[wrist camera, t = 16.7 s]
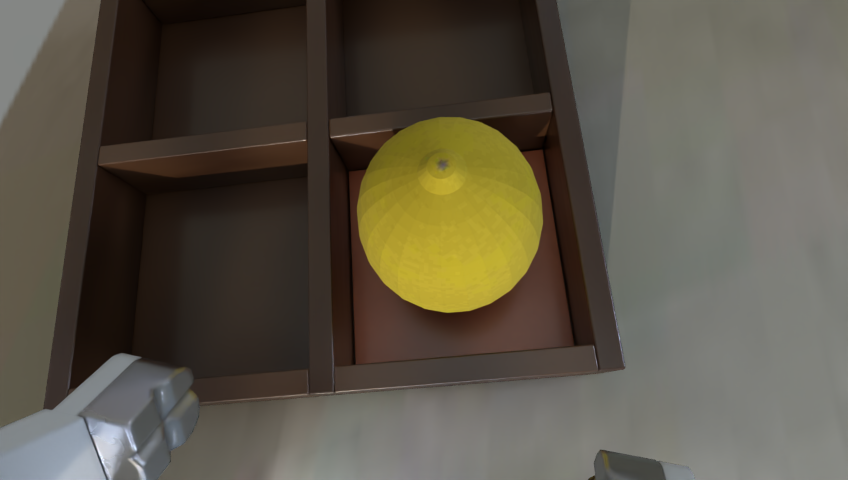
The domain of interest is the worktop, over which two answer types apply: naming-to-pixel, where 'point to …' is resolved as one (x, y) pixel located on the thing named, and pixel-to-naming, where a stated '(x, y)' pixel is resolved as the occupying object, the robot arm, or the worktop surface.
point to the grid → (313, 197)
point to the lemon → (449, 214)
